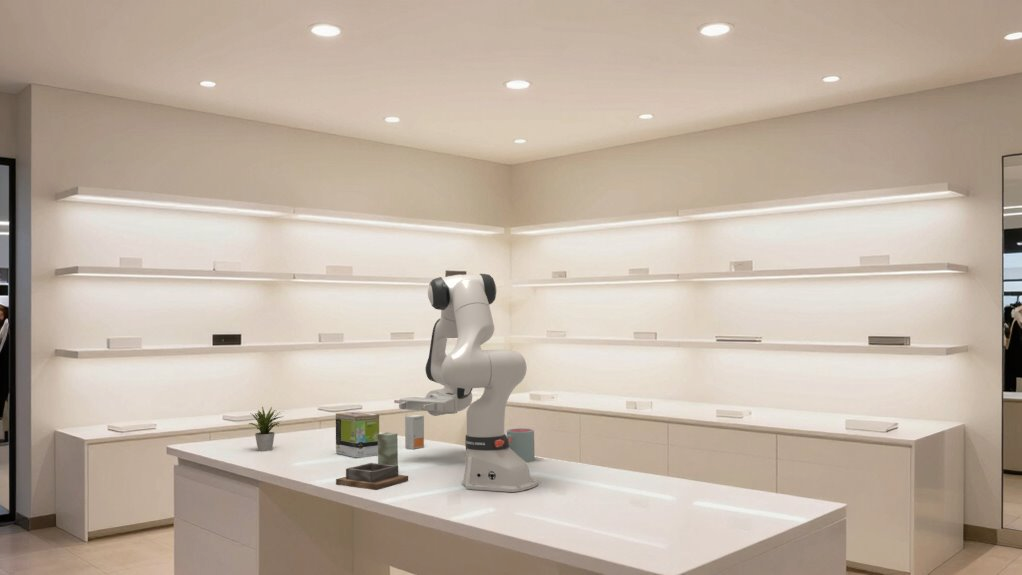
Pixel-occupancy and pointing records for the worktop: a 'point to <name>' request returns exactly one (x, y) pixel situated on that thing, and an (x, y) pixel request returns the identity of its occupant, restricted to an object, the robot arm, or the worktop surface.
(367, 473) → the display stand
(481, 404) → the robot arm
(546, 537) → the worktop surface
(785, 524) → the worktop surface
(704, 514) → the worktop surface
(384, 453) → the green peg
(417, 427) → the skincare box
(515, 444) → the mug
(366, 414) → the tea box
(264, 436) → the house plant
